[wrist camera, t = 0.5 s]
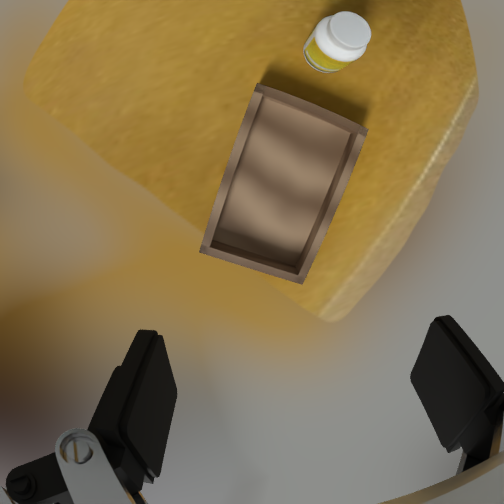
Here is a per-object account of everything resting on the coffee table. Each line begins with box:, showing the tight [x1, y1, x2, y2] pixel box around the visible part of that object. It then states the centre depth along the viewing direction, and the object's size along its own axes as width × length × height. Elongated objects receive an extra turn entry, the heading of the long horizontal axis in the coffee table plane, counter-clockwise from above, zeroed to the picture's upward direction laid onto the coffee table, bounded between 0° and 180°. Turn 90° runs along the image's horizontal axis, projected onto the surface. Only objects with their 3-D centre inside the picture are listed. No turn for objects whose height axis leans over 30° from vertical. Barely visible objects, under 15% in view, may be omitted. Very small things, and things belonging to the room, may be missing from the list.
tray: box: [199, 83, 369, 284], centre depth 33 cm, size 20×13×4 cm, turn 160°
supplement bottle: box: [303, 11, 371, 73], centre depth 23 cm, size 5×5×10 cm
